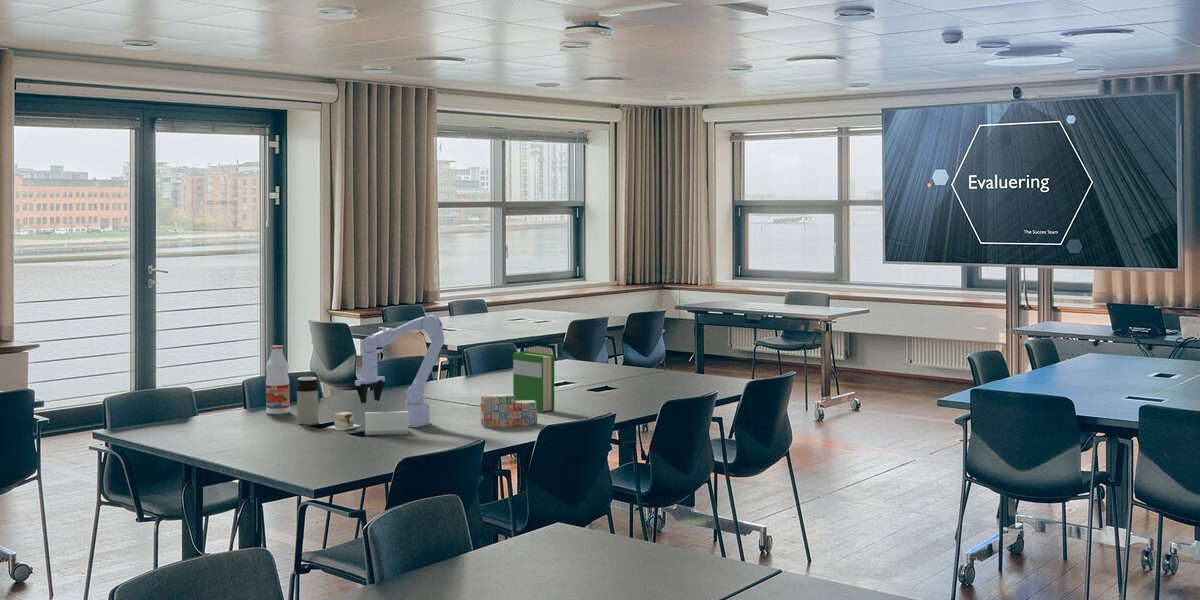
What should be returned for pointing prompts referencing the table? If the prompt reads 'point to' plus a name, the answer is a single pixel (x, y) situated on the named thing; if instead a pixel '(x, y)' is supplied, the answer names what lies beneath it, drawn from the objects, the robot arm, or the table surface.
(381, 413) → the divider screen
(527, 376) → the hardback book
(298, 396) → the travel mug
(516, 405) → the stack of blocks
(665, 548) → the table surface
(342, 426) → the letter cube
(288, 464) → the table surface
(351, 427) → the sage pad
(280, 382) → the fruit juice
